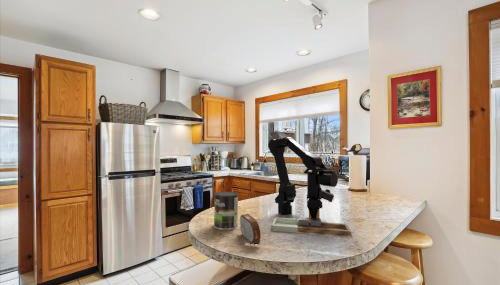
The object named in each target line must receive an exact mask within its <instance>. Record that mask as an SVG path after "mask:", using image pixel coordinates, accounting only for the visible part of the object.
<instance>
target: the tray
mask: <svg viewBox="0 0 500 285" xmlns="http://www.w3.org/2000/svg"><path fill="white" fill-rule="evenodd" d="M298 220H299V218H287V217H278V216H277V217H274V218H273V222H272V224H271V225H270V226H271V231H273V232H285V233H295V234H299V233H298V227H297V226H298Z"/></svg>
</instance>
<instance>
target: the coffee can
mask: <svg viewBox="0 0 500 285" xmlns="http://www.w3.org/2000/svg"><path fill="white" fill-rule="evenodd" d="M238 210H239V192H236V191H218V192H214V214H213V215H214V219H213V220H214V222H213V224H214V225H213V227H214V229H215V230H219V231H231V230H235V229H237V228H238V227H239V226H238V223H239V222H238V221H239V220H238V219H239V217H238V216H239V211H238Z"/></svg>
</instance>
